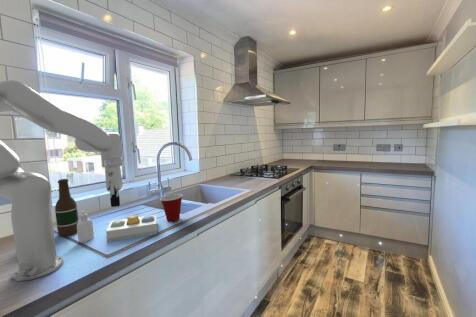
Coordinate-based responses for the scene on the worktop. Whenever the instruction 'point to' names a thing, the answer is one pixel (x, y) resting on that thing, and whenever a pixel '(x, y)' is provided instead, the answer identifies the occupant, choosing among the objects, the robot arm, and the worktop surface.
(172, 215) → the plastic cup
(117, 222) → the button sage
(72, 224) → the beer bottle
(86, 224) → the eye dropper bottle
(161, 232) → the worktop surface
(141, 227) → the white slotted frame
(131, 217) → the button amber
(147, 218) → the button slate
